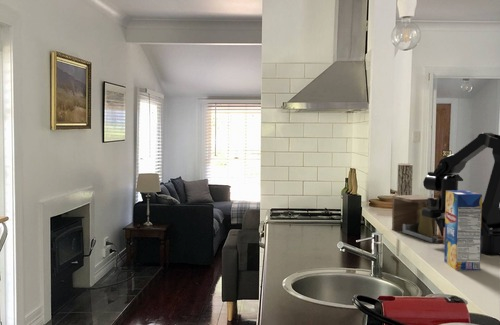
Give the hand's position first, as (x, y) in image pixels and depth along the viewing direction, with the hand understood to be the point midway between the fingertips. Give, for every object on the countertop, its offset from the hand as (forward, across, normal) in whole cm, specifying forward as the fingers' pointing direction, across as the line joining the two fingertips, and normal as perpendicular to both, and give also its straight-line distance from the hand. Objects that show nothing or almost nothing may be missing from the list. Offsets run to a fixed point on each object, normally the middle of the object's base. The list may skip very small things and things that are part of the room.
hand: (448, 235), depth 195 cm
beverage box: (+2, +18, +31) cm, 35 cm away
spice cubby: (+3, 0, -21) cm, 22 cm away
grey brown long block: (+2, +1, -8) cm, 9 cm away
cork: (+3, -1, -15) cm, 15 cm away
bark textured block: (+3, -19, -60) cm, 63 cm away
